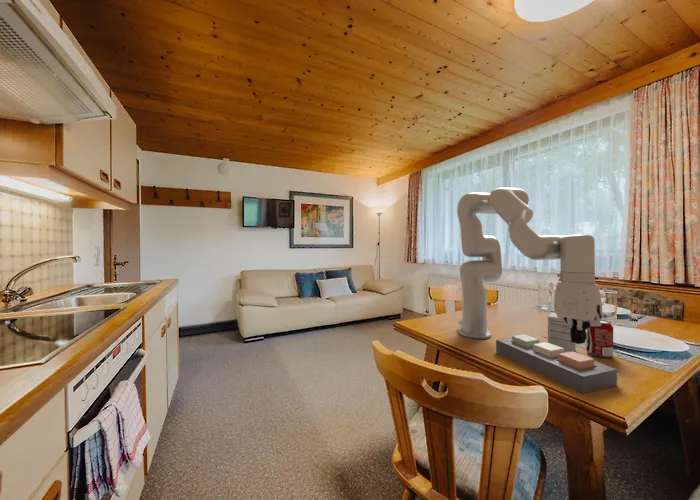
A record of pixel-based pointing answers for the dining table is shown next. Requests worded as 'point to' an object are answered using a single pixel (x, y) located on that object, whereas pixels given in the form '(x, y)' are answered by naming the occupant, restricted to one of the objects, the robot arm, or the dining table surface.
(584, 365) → the key terracotta
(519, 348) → the keypad
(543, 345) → the key cream
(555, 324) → the supplement box
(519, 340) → the key sage
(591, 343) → the soda can
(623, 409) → the dining table surface
